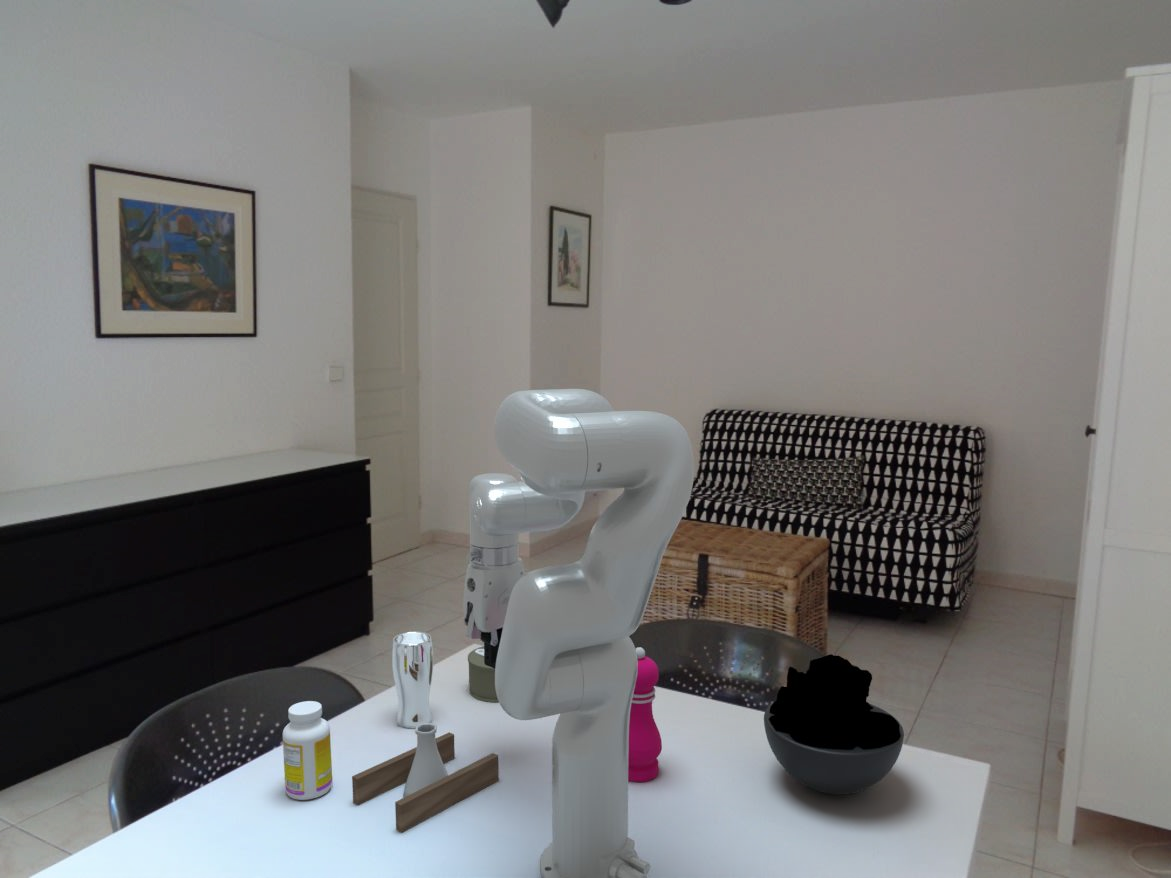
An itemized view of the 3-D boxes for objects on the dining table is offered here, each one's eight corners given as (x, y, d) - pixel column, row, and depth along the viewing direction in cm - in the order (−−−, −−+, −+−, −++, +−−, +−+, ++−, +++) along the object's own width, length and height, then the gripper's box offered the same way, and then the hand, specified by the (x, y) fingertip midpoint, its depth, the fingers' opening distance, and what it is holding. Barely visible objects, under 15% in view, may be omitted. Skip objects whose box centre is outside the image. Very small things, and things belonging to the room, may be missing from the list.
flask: (441, 807, 122) (440, 741, 121) (394, 802, 123) (392, 736, 122) (459, 781, 129) (458, 718, 128) (414, 776, 130) (412, 714, 129)
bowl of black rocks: (895, 761, 135) (901, 647, 133) (906, 833, 116) (913, 701, 113) (766, 745, 140) (769, 635, 138) (757, 810, 121) (760, 684, 119)
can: (507, 709, 154) (506, 672, 153) (455, 694, 160) (454, 659, 159) (543, 685, 164) (543, 651, 163) (493, 672, 170) (493, 639, 169)
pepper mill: (606, 776, 130) (607, 651, 128) (626, 756, 137) (627, 636, 134) (650, 788, 127) (651, 660, 124) (668, 766, 133) (670, 644, 131)
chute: (498, 780, 129) (498, 755, 129) (401, 832, 116) (400, 805, 115) (449, 755, 137) (449, 732, 136) (353, 802, 123) (352, 776, 123)
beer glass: (390, 716, 151) (387, 634, 149) (428, 708, 153) (426, 628, 152) (398, 733, 144) (396, 647, 142) (439, 725, 147) (437, 641, 145)
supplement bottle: (332, 775, 131) (328, 695, 129) (333, 797, 124) (329, 714, 123) (285, 782, 129) (282, 701, 127) (284, 805, 122) (280, 720, 121)
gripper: (474, 568, 124) (475, 687, 127) (545, 548, 136) (544, 658, 138) (441, 558, 129) (442, 673, 132) (512, 539, 140) (512, 646, 143)
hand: (494, 665), depth 135 cm, fingers closed
